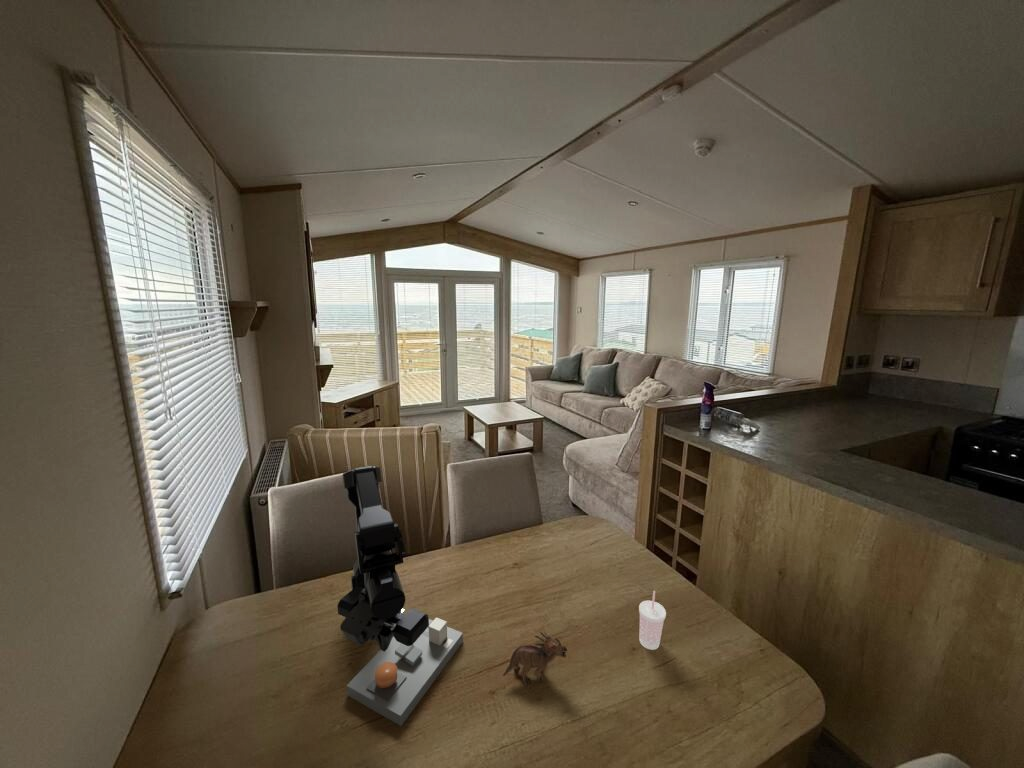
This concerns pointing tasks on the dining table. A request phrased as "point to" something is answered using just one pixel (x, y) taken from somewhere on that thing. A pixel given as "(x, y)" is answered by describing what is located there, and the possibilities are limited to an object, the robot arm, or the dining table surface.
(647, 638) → the beverage cup
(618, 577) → the dining table surface
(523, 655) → the dinosaur figurine
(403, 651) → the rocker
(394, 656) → the switch console
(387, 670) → the push button
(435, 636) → the off-white cube
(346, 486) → the robot arm
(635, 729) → the dining table surface
